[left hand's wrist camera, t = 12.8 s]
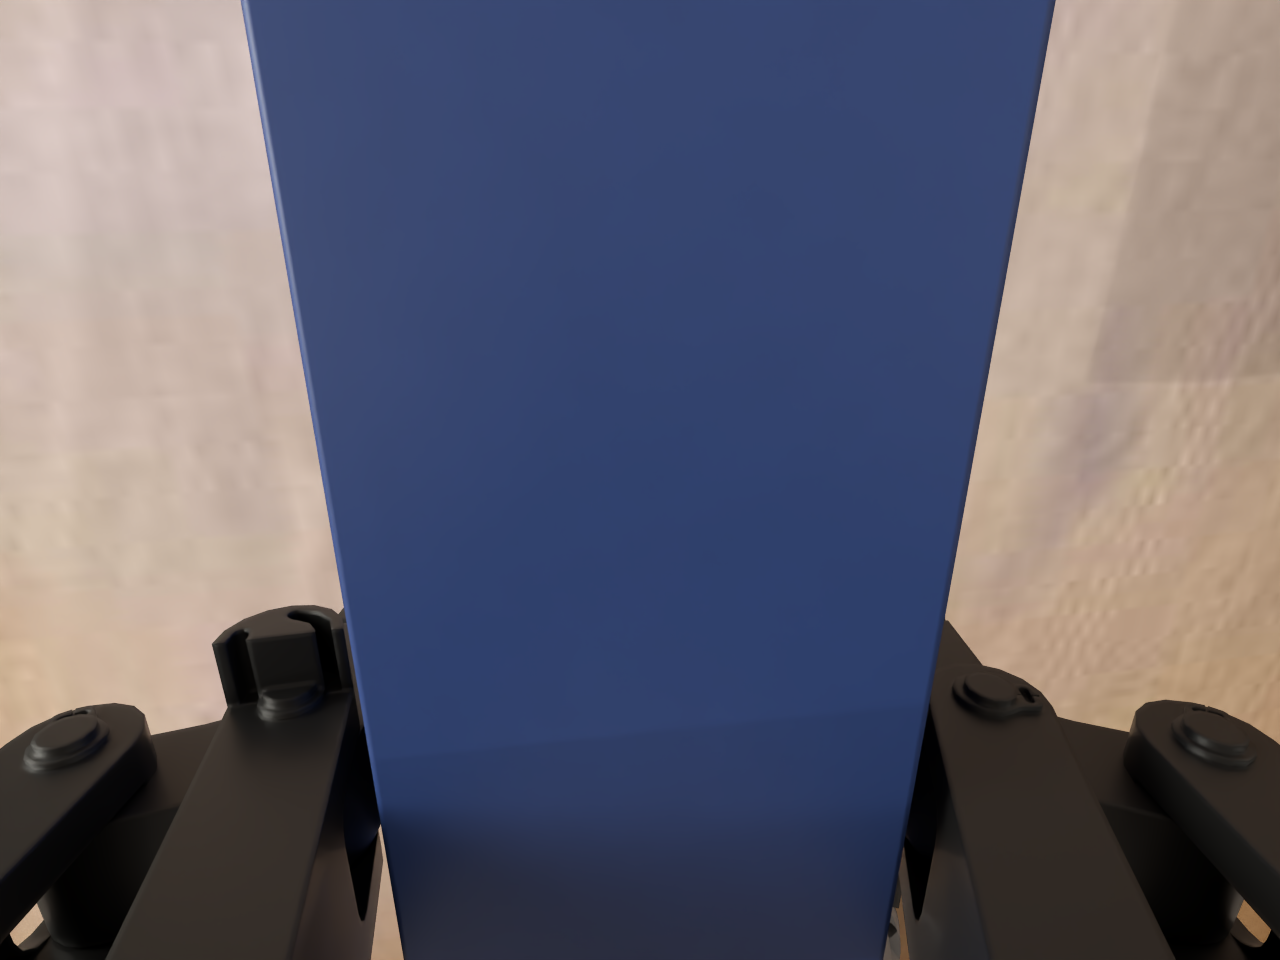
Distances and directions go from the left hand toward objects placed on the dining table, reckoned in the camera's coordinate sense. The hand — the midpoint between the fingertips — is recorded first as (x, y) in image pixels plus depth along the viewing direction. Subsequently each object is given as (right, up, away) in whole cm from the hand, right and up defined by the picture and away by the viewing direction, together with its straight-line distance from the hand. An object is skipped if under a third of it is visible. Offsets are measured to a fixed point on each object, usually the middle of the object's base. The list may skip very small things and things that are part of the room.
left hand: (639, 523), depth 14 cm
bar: (0, +10, -3) cm, 10 cm away
